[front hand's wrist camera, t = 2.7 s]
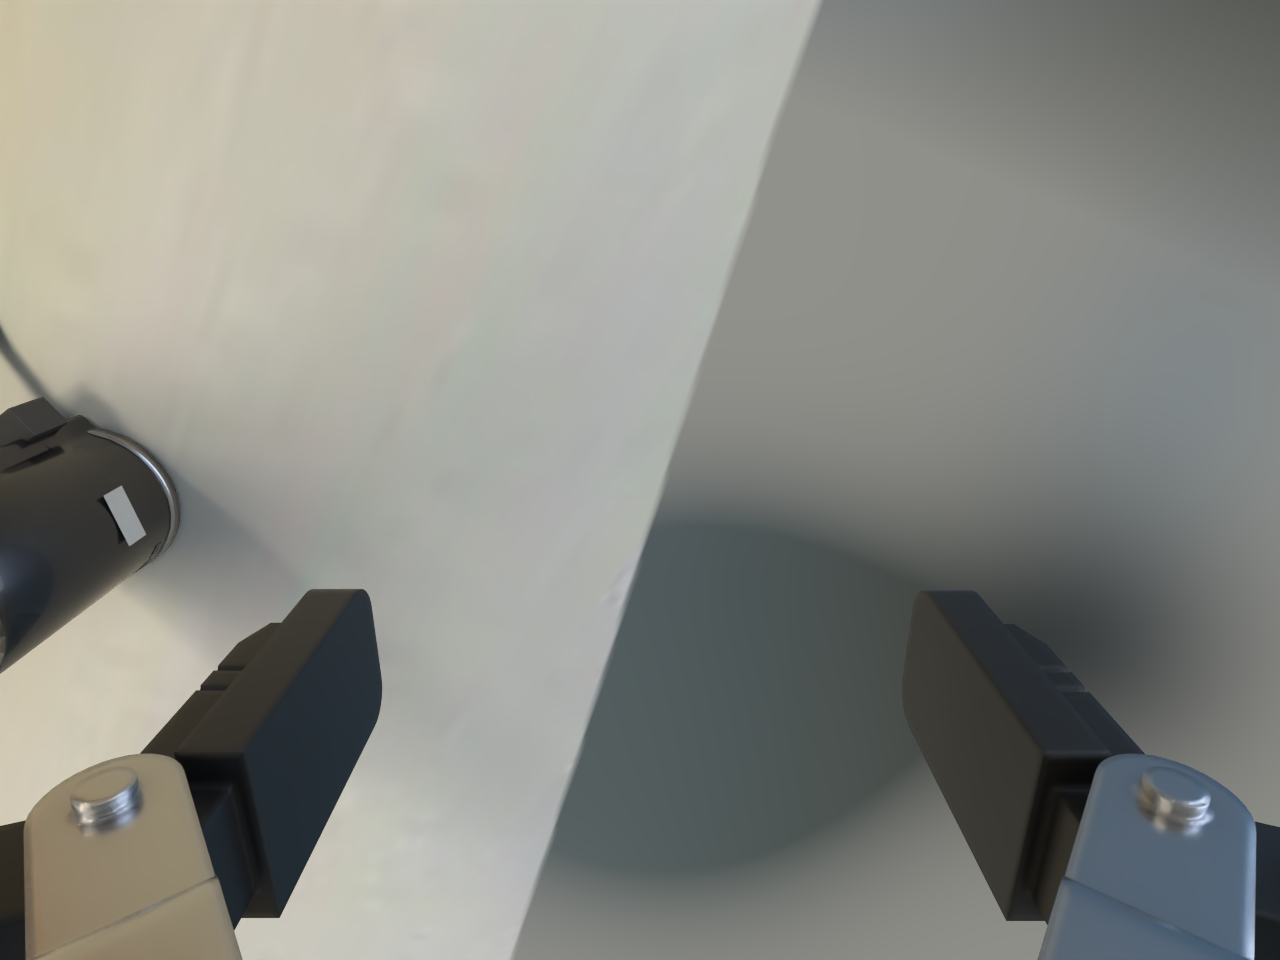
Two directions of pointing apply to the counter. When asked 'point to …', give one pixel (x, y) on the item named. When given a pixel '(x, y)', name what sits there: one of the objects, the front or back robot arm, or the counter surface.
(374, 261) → the counter surface
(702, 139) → the counter surface
